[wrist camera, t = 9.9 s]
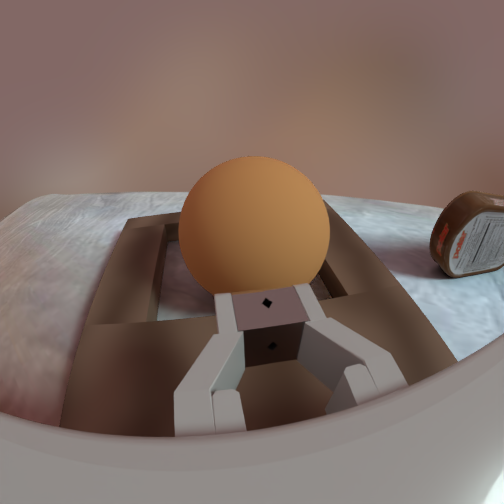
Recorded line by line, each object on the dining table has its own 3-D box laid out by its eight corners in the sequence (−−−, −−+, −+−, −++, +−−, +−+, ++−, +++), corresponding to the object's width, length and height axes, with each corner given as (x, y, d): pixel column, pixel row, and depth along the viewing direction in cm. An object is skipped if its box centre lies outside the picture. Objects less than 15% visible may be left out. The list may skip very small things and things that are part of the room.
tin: (498, 256, 24) (519, 195, 19) (512, 271, 21) (536, 208, 16) (417, 267, 23) (441, 184, 18) (434, 288, 20) (464, 200, 16)
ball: (159, 138, 15) (207, 189, 25) (147, 310, 14) (205, 301, 24) (332, 123, 13) (319, 185, 23) (344, 315, 12) (322, 301, 22)
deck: (77, 546, 4) (54, 544, 3) (132, 234, 29) (128, 218, 28) (485, 461, 7) (506, 448, 6) (322, 215, 32) (323, 199, 31)
